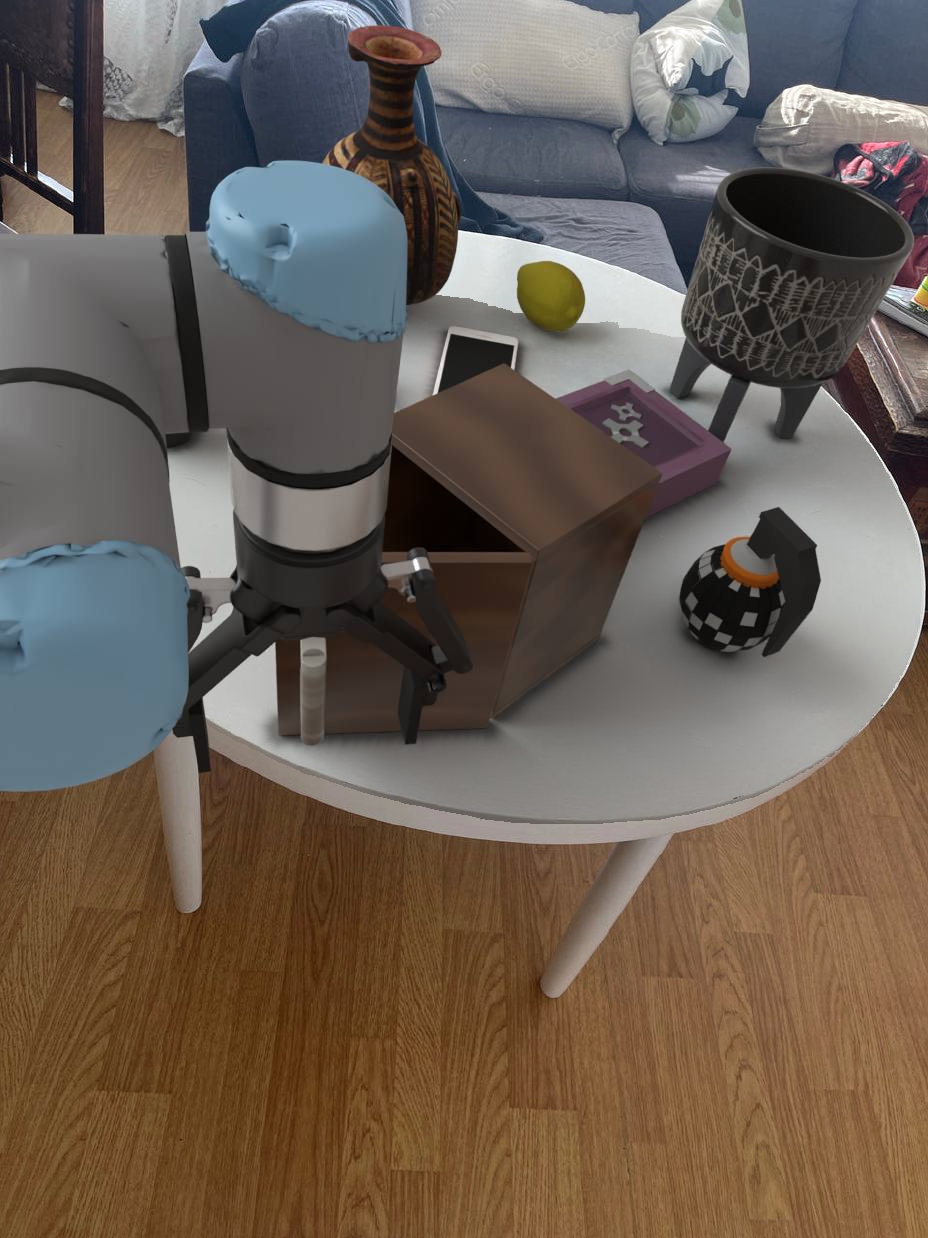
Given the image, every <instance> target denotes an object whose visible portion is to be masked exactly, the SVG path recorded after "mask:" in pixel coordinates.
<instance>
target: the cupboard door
mask: <svg viewBox="0 0 928 1238" xmlns="http://www.w3.org/2000/svg"><path fill="white" fill-rule="evenodd" d="M407 553H408V552H382V560H381V562H382V564H383V565H384V564H390V563H397V562H403V561H407ZM427 554H428V557H429V560H430V563H431V566H432V570H433V573H434V577H435V580H436V583H437V590H438V592H439V594H440V596H441V597H442V599H443V601H444V602H445V604H446V606H447V608H448V609H449V611H450V613H451V614H452V616H453V618H454V620H455V621H456V623H457V625H458V627H459V628H460V630H461V632H462V633H463V635H464V638H465V642H466V645H467V648H468V651H469V654H470V658H471V661H472V664H473V668H472V669H471V670H470V671H469V672H467V673H464V674H459V673H456V672H455V671H454V670H453V671H450V672H447V673H446V674H444V676H445V680H446V683H447V687H446V689H445V690H443V691H441V692H439V693H438V695H437V701H436V702H435V703H434V704H433V705H432V706H424V707H422V712H421V717H420V723H419V729H418V731H436V730H462V729H463V730H464V729H465V730H467V729H487V728H488V726H489V723H490V719H491V717H490V716H491V712H492V709H493V705H494V701H495V698H496V694H497V690H498V687H499V683H500V679H501V676H502V672H503V668H504V665H505V661H506V658H507V654H508V650H509V647H510V643H511V639H512V636H513V632H514V628H515V625H516V621H517V618H518V614H519V610H520V607H521V603H522V599H523V596H524V592H525V588H526V585H527V581H528V578H529V574H530V570H531V567H532V563H533V562H532V558H531V554H530V552H427ZM379 601H380V602H381V603H382V604H384V605H385V606H386V607H388V608H389V609H390V610H391V611H393V612H394V613H395V614H397V615H398V616H399V617H401V618H402V619H403V620H404V621H406V622H407V623H408V624H410V625H411V626H412V627H414V628H415V629H416V630H417V631H419V632H420V633H421V634H423V635H424V636H425V637H427V638H428V639H429V640H430V641H432V642H433V643H434V644H435V645H438V644H437V642H436V641H435V639H434V638H433V636H432V634H431V633H430V631H429V630H428V628H427V626H426V625H425V623H424V622H423V620H422V619H421V617H420V615H419V613H418V611H417V608H416V604H415V602H414V603H409V602H407V600H406V597H403V596H401V595H400V594H399V592H398V590H396V589H394V588H388V589H387V592H386V594H385V595H384V596H383V597H382V598H381V599H380V600H379ZM274 646H275V647H274V648H275V649H274V651H275V653H274V654H275V676H276V678H275V679H276V681H275V682H276V706H277V708H276V709H277V735H278V736H294V735H296V736H297V735H298V736H299V735H300V739H301V741H302V742H303V743H304V744H305V745H308V746H317V745H319V744H321V743H322V742H323V741H324V738H325V734H351V733H380V732H381V733H382V732H383V733H384V732H402V730H401V725H400V721H399V717H398V713H397V712H398V705H399V698H400V691H401V684H402V676H403V669H404V666H403V665H402V664H401V663H399V662H398V661H396V660H395V659H394V658H392V657H391V656H389V655H388V654H386V653H385V652H384V651H382V650H381V649H379V648H378V647H376V646H375V645H374V644H372V643H369V644H367V645H366V644H364V643H363V642H361V641H360V640H358V639H357V638H356V637H354V636H353V635H351V634H350V633H348V632H347V631H343V632H340V633H339V637H330V638H319V637H310V638H306V639H302V640H299V641H290V642H284V640H283V638H279V639H278V640H277V641H276V642H275V643H274Z"/></svg>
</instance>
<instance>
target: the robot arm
mask: <svg viewBox="0 0 928 1238" xmlns="http://www.w3.org/2000/svg"><path fill="white" fill-rule="evenodd" d="M406 286H407V231H406V225H405V221H404V216H403V215H402V213H401V212H400V211H399V209H398V208H397V206H396V205H395V203H394V202H393V200H392V199H391V197H390V196H389V195H388V194H387V193H386V192H385V191H383V190H382V189H381V188H379V187H378V186H377V185H375V184H374V183H372V182H371V181H369V180H368V179H366V178H364V177H362V176H360V175H358V174H355V173H353V172H351V171H348V170H345V169H342V168H338V167H335V166H331V165H326V164H322V163H321V162H314V161H305V160H273V161H271V162H270V163H268V164H267V165H266V166H264V167H258V166H257V167H256V166H245V167H243V168H242V167H241V168H239V169H237V170H235V171H233V172H232V173H230V174H229V175H227V176H226V177H225V178H223V179H222V180H221V181H220V182H219V183H218V184H217V186H216V187H215V190H214V191H213V192H212V195H211V197H210V204H209V217H208V219H207V221H205V231H185V232H184V234H166V235H164V234H112V233H111V234H108V233H107V234H106V233H105V234H104V233H103V234H99V233H97V234H96V233H95V234H94V233H93V234H92V233H2V232H1V233H0V792H12V793H13V792H14V793H15V792H16V793H17V792H21V793H23V792H26V793H29V792H30V793H31V792H45V791H52V790H61V789H65V788H71V787H72V788H73V787H77V786H81V785H85V784H89V783H92V782H95V781H98V780H101V779H105V778H106V777H110V776H112V775H114V774H117V773H119V772H121V771H123V770H126V769H128V768H129V767H131V766H134V765H135V764H136V763H138V762H139V761H141V760H142V759H144V758H145V757H146V756H148V755H149V754H150V753H152V752H153V751H154V750H155V749H157V747H159V746H160V745H161V744H162V743H163V742H164V740H165V739H166V738H167V737H168V736H169V734H170V733H171V732H172V734H173V735H174V737H176V738H177V739H180V738H187V737H192V739H193V740H192V741H193V746H194V752H195V758H196V759H195V760H196V764H197V765H196V766H197V771H198V774H204V773H210V772H212V767H211V766H212V765H211V754H210V741H209V733H208V725H207V719H206V711H205V704H204V697H205V696H207V694H208V693H210V691H212V690H213V689H214V688H215V687H216V686H217V685H219V684H220V683H221V682H222V681H223V680H225V678H226V677H228V676H229V675H230V674H231V673H232V672H234V671H235V670H236V669H237V668H238V667H240V665H242V664H243V663H244V662H245V661H246V660H247V659H248V658H250V657H251V656H255V657H259V656H261V655H262V654H264V653H265V651H267V650H268V649H269V648H270V647H271V646H272V645H274V644H275V642H276V641H277V640H278V639H279V638H283V640H284V642H290V641H299V640H302V639H306V638H310V637H319V638H330V637H339V633H340V632H343V631H347V632H348V633H350V634H351V635H353V636H354V637H356V638H357V639H358V640H360V641H361V642H363V643H364V644H366V645H367V644H369V643H372V644H374V645H375V646H376V647H378V648H379V649H381V650H382V651H384V652H385V653H386V654H388V655H389V656H391V657H392V658H394V659H395V660H396V661H398V662H399V663H401V664H402V665H403V666H404V669H403V676H402V684H401V691H400V698H399V705H398V712H397V713H398V717H399V721H400V725H401V730H402V731H401V734H402V737H403V742H404V745H405V746H409V745H416V744H417V740H418V735H419V730H418V729H419V723H420V717H421V712H422V707H424V706H432V705H433V704H434V703H435V702H436V701H437V695H438V693H439V692H441V691H443V690H445V689H446V687H447V683H446V680H445V676H444V674H446V673H447V672H450V671H453V670H454V671H455V672H456V673H459V674H464V673H467V672H469V671H470V670H471V669H472V668H473V664H472V661H471V658H470V654H469V651H468V648H467V645H466V642H465V638H464V635H463V633H462V632H461V630H460V628H459V627H458V625H457V623H456V621H455V620H454V618H453V616H452V614H451V613H450V611H449V609H448V608H447V606H446V604H445V602H444V601H443V599H442V597H441V596H440V594H439V592H438V590H437V583H436V580H435V577H434V573H433V570H432V566H431V563H430V560H429V557H428V554H427V550H425V549H424V548H421V547H417V548H413V549H412V550H410V551H409V552H408V553H407V561H403V562H397V563H390V564H384V565H383V564H382V562H381V560H382V550H383V539H384V528H385V511H386V509H387V497H388V485H389V473H390V461H391V448H392V426H393V418H394V413H395V407H396V401H397V400H396V399H397V393H398V392H397V391H398V383H399V375H400V366H401V360H402V352H403V351H402V349H403V341H404V333H405V332H406V328H407V327H408V321H409V320H408V319H409V313H407V306H406ZM212 429H217V430H218V429H226V438H227V456H228V469H229V482H230V495H231V497H230V498H231V504H232V506H233V510H232V521H233V535H234V548H235V561H236V565H235V568H234V569H233V571H232V572H231V574H230V576H229V577H201V576H202V575H201V570H200V569H199V568H198V567H196V566H194V565H185V566H182V567H181V560H180V559H181V558H180V552H179V546H178V538H177V531H176V523H175V515H174V509H173V502H172V501H173V500H172V494H171V487H170V465H169V455H168V447H167V446H166V436H165V434H172V433H184V432H189V433H193V434H195V433H207V432H209V430H212ZM388 588H394V589H396V590H398V592H399V594H400V595H401V596H403V597H406V600H407V602H409V603H414V602H415V604H416V608H417V611H418V613H419V615H420V617H421V619H422V620H423V622H424V623H425V625H426V626H427V628H428V630H429V631H430V633H431V634H432V636H433V638H434V639H435V641H436V642H437V644H438V645H435V644H434V643H433V642H432V641H430V640H429V639H428V638H427V637H425V636H424V635H423V634H421V633H420V632H419V631H417V630H416V629H415V628H414V627H412V626H411V625H410V624H408V623H407V622H406V621H404V620H403V619H402V618H401V617H399V616H398V615H397V614H395V613H394V612H393V611H391V610H390V609H389V608H388V607H386V606H385V605H384V604H382V603H381V602H380V601H379V600H380V599H381V598H382V597H383V596H384V595H385V594H386V592H387V589H388ZM225 604H231V606H232V611H231V613H230V615H229V616H227V617H226V618H225V619H224V620H223V621H222V622H221V623H220V624H218V626H216V627H215V629H213V630H212V631H211V632H210V633H209V634H207V636H205V638H203V639H202V640H201V641H200V642H199V643H198V644H197V645H195V643H196V642H197V640H198V638H199V637H200V634H201V632H202V629H203V624H209V623H211V622H212V621H213V615H215V614H216V613H217V611H218V610H219V608H220V607H221V606H222V605H225ZM194 645H195V646H194Z"/></svg>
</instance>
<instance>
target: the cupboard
mask: <svg viewBox="0 0 928 1238" xmlns="http://www.w3.org/2000/svg"><path fill="white" fill-rule="evenodd" d="M555 398H556V397H554V396H552V395H551V394H550V393H548V392H547V391H545V390H543V389H542V388H540V387H539V386H538V385H537V384H535V383H533V382H532V381H531V380H529V379H528V378H526V377H524V376H523V375H522V374H521V373H519V372H518V371H516V370H515V369H514V370H513V369H512V368H510V367H509V366H508V365H506V364H502V365H499V366H497V367H495V368H493V369H491V370H488V371H486V372H484V373H482V374H479V375H477V376H475V377H473V378H471V379H468V380H466V381H464V382H462V383H459V384H457V385H455V386H453V387H451V388H448V389H446V390H444V391H442V392H439V393H437V394H435V395H433V394H432V395H431V396H428V397H426V398H424V399H422V400H420V401H418V402H415V403H412V404H411V405H409V406H406V407H403V408H402V409H400V410H398V411H394V418H393V426H392V448H391V461H390V473H389V485H388V497H387V509H386V511H385V528H384V539H383V550H382V552H409V551H410V550H412V549H413V548H417V547H421V548H424V549H425V550H427V552H530V554H531V558H532V562H533V563H532V567H531V570H530V574H529V578H528V581H527V585H526V588H525V592H524V596H523V599H522V603H521V607H520V610H519V614H518V618H517V621H516V625H515V628H514V632H513V636H512V639H511V643H510V647H509V650H508V654H507V658H506V661H505V665H504V668H503V672H502V676H501V679H500V683H499V687H498V690H497V694H496V698H495V701H494V705H493V709H492V712H491V716H490V719H494V718H496V717H497V716H498V715H500V714H501V713H503V712H504V711H505V710H506V709H508V708H509V707H511V706H512V705H514V703H516V702H517V701H519V700H520V699H521V698H523V697H525V695H527V694H528V693H529V692H531V691H532V690H533V689H535V688H536V687H537V686H539V685H540V684H541V683H542V682H544V681H545V680H546V679H548V678H549V677H551V676H553V674H555V673H556V672H557V671H559V670H560V669H562V668H563V667H564V666H566V665H567V664H568V663H569V662H571V661H572V660H573V659H575V658H576V657H578V656H579V655H580V654H581V653H583V652H584V651H586V650H587V649H589V648H590V647H591V646H592V645H594V644H595V643H597V641H599V639H600V636H601V634H602V631H603V629H604V626H605V623H606V620H607V619H608V615H609V613H610V610H611V608H612V605H613V602H614V600H615V598H616V596H617V593H618V590H619V587H620V585H621V582H622V580H623V577H624V575H625V571H626V570H627V568H628V567H627V566H628V564H629V563H630V562H629V561H630V558H631V556H632V553H633V551H634V548H635V546H636V543H637V541H638V539H639V537H640V534H641V531H642V528H643V526H644V523H645V520H646V515H647V513H648V510H649V508H650V505H651V502H652V500H653V497H654V495H655V492H656V490H657V487H658V484H659V482H660V479H661V477H662V474H663V473H662V472H660V471H659V470H657V469H656V468H655V467H653V466H652V465H650V464H649V463H647V462H646V461H644V460H643V459H642V458H640V457H639V456H637V455H636V454H634V453H633V452H631V451H630V450H629V449H627V448H626V447H624V446H623V445H621V444H620V443H619V442H617V441H616V440H614V439H613V438H611V437H610V436H608V435H607V434H606V433H604V432H603V431H601V430H600V429H598V428H597V427H595V426H594V425H593V424H591V423H590V422H588V421H587V420H585V419H584V418H582V417H581V416H580V415H578V414H577V413H575V412H574V411H572V410H571V409H569V408H568V407H567V406H565V405H564V404H562V403H561V402H559V401H558V400H557V399H555Z"/></svg>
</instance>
